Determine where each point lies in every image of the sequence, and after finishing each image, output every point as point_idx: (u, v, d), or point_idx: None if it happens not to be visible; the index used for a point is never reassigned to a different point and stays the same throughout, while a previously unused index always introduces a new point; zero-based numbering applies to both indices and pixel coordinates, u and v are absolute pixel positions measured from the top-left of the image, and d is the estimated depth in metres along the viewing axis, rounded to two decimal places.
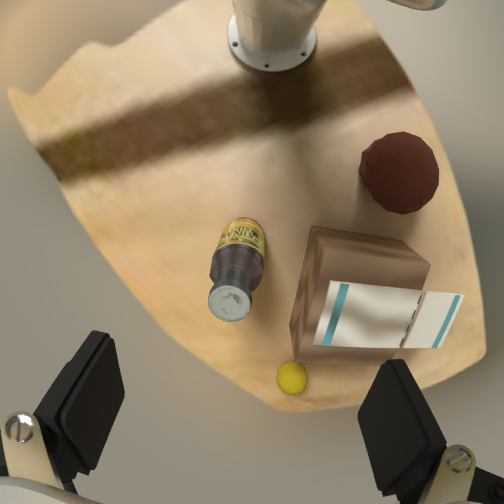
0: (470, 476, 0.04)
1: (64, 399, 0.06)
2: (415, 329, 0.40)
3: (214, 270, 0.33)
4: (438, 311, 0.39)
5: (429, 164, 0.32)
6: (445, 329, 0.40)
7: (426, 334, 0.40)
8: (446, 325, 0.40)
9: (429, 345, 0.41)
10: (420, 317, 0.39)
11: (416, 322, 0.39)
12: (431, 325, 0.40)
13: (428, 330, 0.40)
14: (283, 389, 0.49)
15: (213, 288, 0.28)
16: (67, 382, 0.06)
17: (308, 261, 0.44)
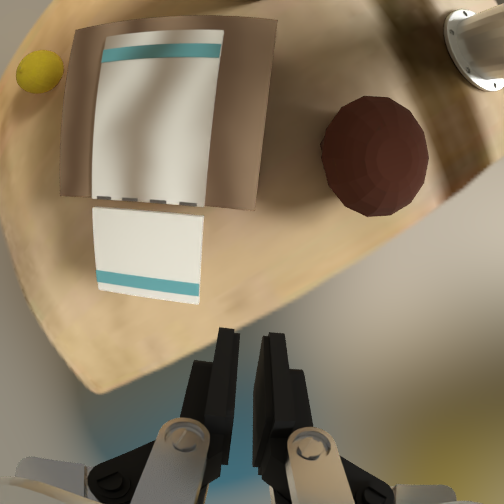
0: (335, 454, 0.06)
1: (227, 395, 0.07)
2: (129, 217, 0.24)
3: None
4: (165, 257, 0.25)
5: (408, 186, 0.23)
6: (133, 286, 0.26)
7: (120, 247, 0.25)
8: (140, 285, 0.26)
9: (100, 262, 0.25)
10: (152, 219, 0.24)
11: (142, 214, 0.24)
12: (138, 251, 0.25)
13: (127, 249, 0.25)
14: (26, 56, 0.20)
15: None
16: (222, 379, 0.08)
17: None
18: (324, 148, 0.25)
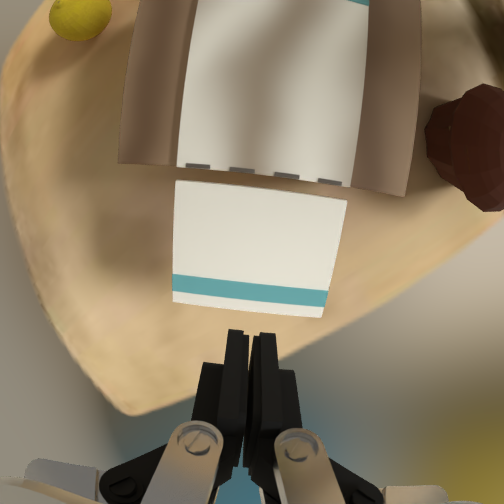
0: (324, 455, 0.06)
1: (239, 397, 0.07)
2: (238, 196, 0.17)
3: None
4: (287, 255, 0.18)
5: None
6: (230, 296, 0.19)
7: (217, 241, 0.18)
8: (242, 295, 0.19)
9: (181, 263, 0.19)
10: (275, 201, 0.17)
11: (259, 193, 0.17)
12: (246, 246, 0.18)
13: (229, 243, 0.18)
14: None
15: None
16: (234, 381, 0.08)
17: None
18: (453, 133, 0.18)
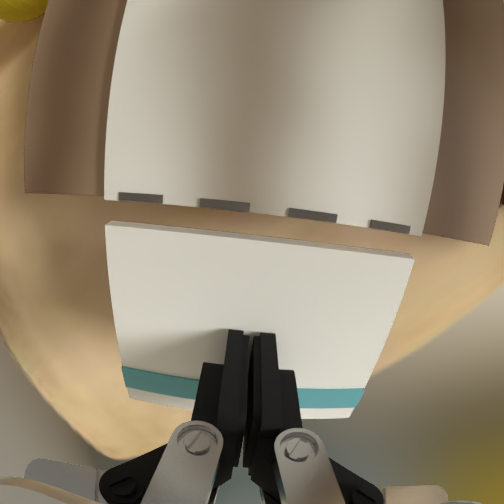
0: (324, 455, 0.06)
1: (239, 398, 0.07)
2: (218, 255, 0.09)
3: None
4: (305, 348, 0.10)
5: None
6: None
7: (185, 327, 0.10)
8: None
9: (133, 354, 0.11)
10: (288, 264, 0.09)
11: (259, 249, 0.09)
12: None
13: (207, 332, 0.10)
14: None
15: None
16: (234, 381, 0.08)
17: None
18: None
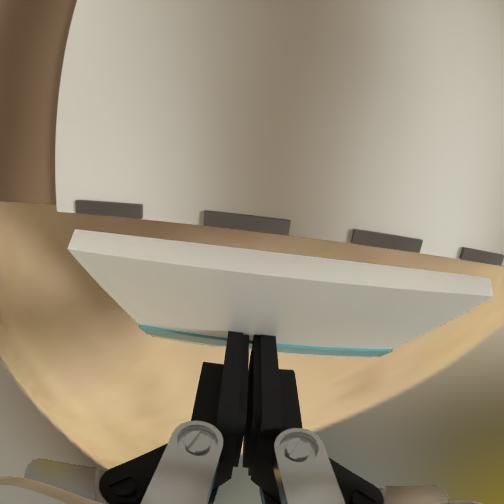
0: (324, 455, 0.06)
1: (240, 398, 0.07)
2: (238, 284, 0.06)
3: None
4: (340, 333, 0.09)
5: None
6: None
7: (202, 316, 0.09)
8: None
9: (148, 321, 0.10)
10: (337, 295, 0.06)
11: (299, 284, 0.06)
12: (262, 325, 0.09)
13: (228, 321, 0.09)
14: None
15: None
16: (234, 381, 0.08)
17: None
18: None
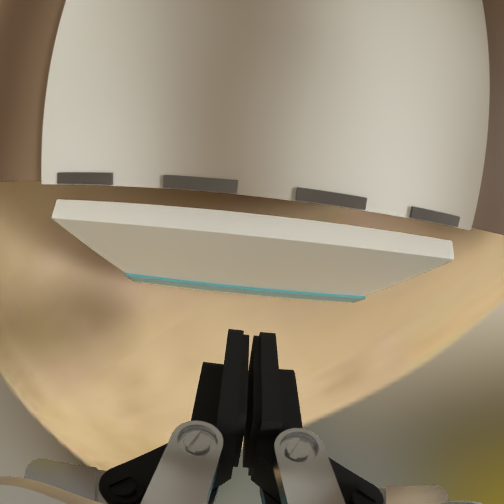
0: (324, 455, 0.06)
1: (239, 398, 0.07)
2: (199, 239, 0.07)
3: None
4: (308, 281, 0.10)
5: None
6: (217, 290, 0.13)
7: (177, 265, 0.09)
8: (234, 291, 0.13)
9: (132, 270, 0.11)
10: (292, 249, 0.07)
11: (253, 240, 0.07)
12: (232, 272, 0.10)
13: (201, 268, 0.09)
14: None
15: None
16: (234, 381, 0.08)
17: None
18: None
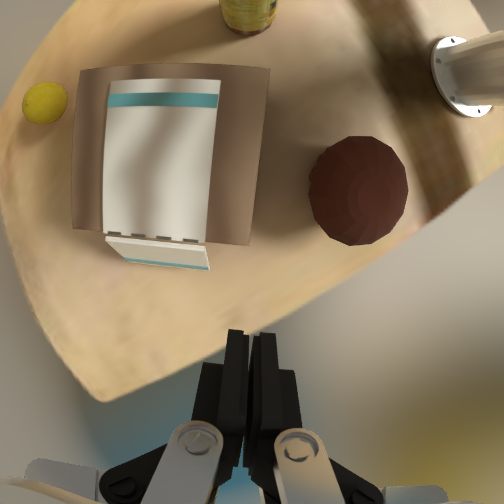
0: (324, 455, 0.06)
1: (239, 397, 0.07)
2: (140, 246, 0.28)
3: None
4: (178, 259, 0.31)
5: (387, 220, 0.27)
6: (156, 264, 0.34)
7: (139, 253, 0.30)
8: (161, 264, 0.34)
9: (126, 256, 0.32)
10: (161, 248, 0.28)
11: (151, 246, 0.28)
12: (155, 255, 0.31)
13: (146, 254, 0.31)
14: (31, 88, 0.24)
15: None
16: (234, 381, 0.08)
17: None
18: (311, 186, 0.29)
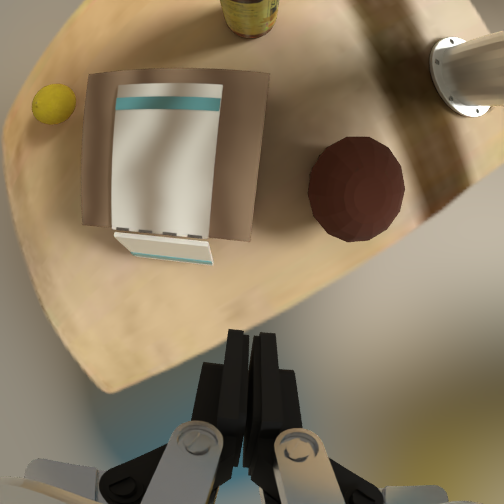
0: (324, 455, 0.06)
1: (240, 398, 0.07)
2: (147, 241, 0.30)
3: None
4: (183, 253, 0.33)
5: (383, 217, 0.29)
6: (162, 258, 0.36)
7: (146, 248, 0.32)
8: (167, 259, 0.36)
9: (133, 250, 0.34)
10: (167, 244, 0.30)
11: (157, 242, 0.29)
12: (161, 250, 0.32)
13: (152, 249, 0.32)
14: (40, 90, 0.26)
15: None
16: (234, 381, 0.08)
17: None
18: (310, 185, 0.30)
